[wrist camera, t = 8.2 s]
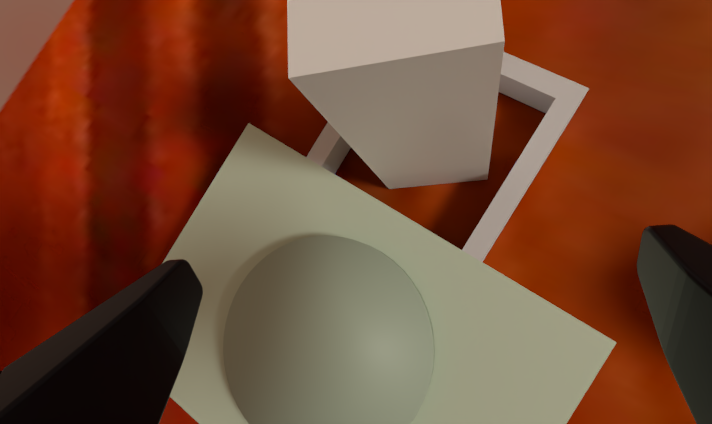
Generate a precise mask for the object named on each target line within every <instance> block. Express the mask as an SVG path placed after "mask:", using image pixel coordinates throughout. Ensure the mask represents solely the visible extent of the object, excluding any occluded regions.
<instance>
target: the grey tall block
mask: <svg viewBox="0 0 712 424" xmlns="http://www.w3.org/2000/svg"><path fill="white" fill-rule="evenodd" d="M287 13H288V78H289V79H290V81H291V82H292V83H293V84H294V85H295V86H296V87H297V88H298V89H299V90H300V92H301V93H302V94H303V95H304V96H305V97H306V98H307V99H308V100H309V101H310V103H311V104H312V105H313V106H314V107H315V108H316V109H317V110H318V111H319V112H320V114H321V115H322V116H323V117H324V118H325V119H326V120H327V121H328V122H329V123H330V125H331V126H332V127H333V128H334V129H335V130H336V131H337V132H338V133H339V135H340V136H341V137H342V138H343V139H344V140H345V141H346V142H347V143H348V144H349V146H350V147H351V148H352V149H353V150H354V151H355V152H356V153H357V154H358V155H359V157H360V158H361V159H362V160H363V161H364V162H365V163H366V164H367V165H368V166H369V168H370V169H371V170H372V171H373V172H374V173H375V174H376V175H377V176H378V177H379V179H380V180H381V181H382V182H383V183H384V184H385V185H386V186H387V187H388V188H389V189H394V188H404V187H415V186H425V185H436V184H446V183H457V182H467V181H478V180H488V172H489V164H490V156H491V148H492V140H493V132H494V124H495V116H496V108H497V99H498V91H499V83H500V75H501V67H502V59H503V51H504V43H505V40H504V30H503V20H502V11H501V1H500V0H287Z"/></svg>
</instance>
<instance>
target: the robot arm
mask: <svg viewBox="0 0 712 424" xmlns="http://www.w3.org/2000/svg"><path fill="white" fill-rule="evenodd" d="M637 272H638V276H639V279H640V282H641V285H642V288H643V291H644V294H645V297H646V301H647V304H648V307H649V310H650V313H651V316H652V319H653V322H654V325H655V328H656V331H657V334H658V337H659V340H660V343H661V346H662V349H663V352H664V354H665V357H666V359H667V361H668V363H669V366H670V368H671V370H672V372H673V374H674V377H675V379H676V381H677V383H678V385H679V387H680V389H681V391H682V393H683V396H684V398H685V400H686V402H687V404H688V406H689V408H690V410H691V413H692V415H693V417H694V419H695V421H696V423H697V424H712V245H711V244H709V243H707V242H705V241H703V240H701V239H700V238H698V237H696V236H694V235H692V234H690V233H689V232H687V231H685V230H683V229H681V228H679V227H677V226H675V225H656V226H648V227H646V228H645V229H644V231H643V234H642V238H641V244H640V249H639V254H638V260H637ZM202 296H203V288H202V285H201V283H200V281H199V279H198V277H197V276H196V274H195V272H194V270H193V269H192V267H191V265H190V264H189V262H188V261H186V260H184V259H177V260H168V261H166V262H164V263H162V264H161V265H159V266H158V267H156V268H155V269H153V270H152V271H150V272H149V273H147V274H146V275H144V276H143V277H141V278H140V279H138V280H137V281H135V282H134V283H132V284H131V285H129V286H128V287H126V288H125V289H123V290H122V291H120V292H118V293H117V294H115V295H114V296H112V297H111V298H109V299H108V300H106V301H105V302H103V303H102V304H100V305H99V306H97V307H96V308H94V309H93V310H91V311H90V312H88V313H87V314H85V315H84V316H82V317H81V318H79V319H78V320H76V321H75V322H73V323H72V324H70V325H69V326H67V327H66V328H64V329H63V330H61V331H59V332H58V333H56V334H55V335H53V336H52V337H50V338H49V339H47V340H46V341H44V342H43V343H41V344H40V345H38V346H37V347H35V348H34V349H32V350H31V351H29V352H28V353H26V354H25V355H23V356H22V357H20V358H19V359H17V360H16V361H14V362H13V363H11V364H10V365H8V366H7V367H5V368H4V369H3V371H0V424H159V422H160V419H161V417H162V414H163V412H164V409H165V407H166V404H167V402H168V399H169V396H170V394H171V391H172V389H173V386H174V384H175V381H176V379H177V376H178V374H179V371H180V369H181V366H182V363H183V361H184V358H185V355H186V352H187V348H188V345H189V342H190V338H191V335H192V331H193V328H194V324H195V321H196V317H197V314H198V310H199V307H200V303H201V300H202Z"/></svg>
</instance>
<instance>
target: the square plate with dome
mask: <svg viewBox="0 0 712 424" xmlns="http://www.w3.org/2000/svg"><path fill="white" fill-rule="evenodd" d="M588 90H589V88H587V87H585V86H582V85H580V84H578V83H575V82H573V81H571V80H568V79H566V78H564V77H561V76H559V75H557V74H554V73H552V72H550V71H547V70H545V69H543V68H540V67H538V66H536V65H533V64H531V63H529V62H526V61H524V60H521V59H519V58H517V57H514V56H512V55H510V54H507V53H505V52H503V59H502V67H501V75H500V83H499V91H498V92H500V93H502V94H505V95H507V96H509V97H511V98H513V99H515V100H518V101H520V102H522V103H524V104H526V105H529V106H531V107H533V108H535V109H537V110H539V111H542V112H544V113H546V115H545V116H544V118H543V120H542V121H541V123H540V124H539V126H538V128H537V129H536V131H535V132H534V134H533V136H532V137H531V139H530V141H529V142H528V144H527V145H526V147H525V149H524V150H523V152H522V154H521V155H520V157H519V158H518V160H517V162H516V163H515V165H514V166H513V168H512V170H511V171H510V173H509V175H508V176H507V178H506V179H505V181H504V183H503V184H502V186H501V188H500V189H499V191H498V192H497V194H496V196H495V197H494V199H493V200H492V202H491V204H490V205H489V207H488V209H487V210H486V212H485V213H484V215H483V217H482V218H481V220H480V222H479V223H478V225H477V226H476V228H475V230H474V231H473V233H472V234H471V236H470V238H469V239H468V241H467V243H466V244H465V246H464V247H463V249H462V250H461V249H459V248H457V247H456V246H454V245H452V244H451V243H449V242H447V241H446V240H444V239H442V238H441V237H439V236H437V235H436V234H434V233H432V232H431V231H429V230H427V229H426V228H424V227H422V226H420V225H419V224H417V223H415V222H414V221H412V220H410V219H409V218H407V217H405V216H404V215H402V214H400V213H399V212H397V211H395V210H394V209H392V208H390V207H389V206H387V205H385V204H384V203H382V202H380V201H379V200H377V199H375V198H374V197H372V196H370V195H369V194H367V193H365V192H363V191H362V190H360V189H358V188H357V187H355V186H353V185H352V184H350V183H348V182H347V181H345V180H343V179H342V178H340V177H338V176H337V175H335V173H336V171H337V170H338V168H339V166H340V165H341V163H342V162H343V160H344V158H345V157H346V155H347V153H348V152H349V150H350V149H351V147H350V146H349V144H348V143H347V142H346V141H345V140H344V139H343V138H342V137H341V136H340V135H339V133H338V132H337V131H336V130H335V129H334V128H333V127H332V126H331V125H330V123H329V122H328V123H327V124H326V126H325V127H324V129H323V131H322V132H321V134H320V136H319V137H318V139H317V140H316V142H315V144H314V145H313V147H312V148H311V150H310V152H309V153H308V155H307V157H305V156H303V155H301V154H300V153H298V152H296V151H295V150H293V149H291V148H290V147H288V146H286V145H285V144H283V143H281V142H280V141H278V140H276V139H275V138H273V137H271V136H270V135H268V134H266V133H265V132H263V131H261V130H260V129H258V128H256V127H255V126H253V125H251V124H250V123H248V125H247V126H246V128H245V129H244V131H243V133H242V134H241V136H240V138H239V139H238V141H237V142H236V144H235V146H234V147H233V149H232V151H231V152H230V154H229V155H228V157H227V159H226V160H225V162H224V164H223V165H222V167H221V168H220V170H219V172H218V173H217V175H216V177H215V178H214V180H213V181H212V183H211V185H210V186H209V188H208V190H207V191H206V193H205V195H204V196H203V198H202V199H201V201H200V203H199V204H198V206H197V208H196V209H195V211H194V212H193V214H192V216H191V217H190V219H189V221H188V222H187V224H186V225H185V227H184V229H183V230H182V232H181V234H180V235H179V237H178V238H177V240H176V242H175V243H174V245H173V247H172V248H171V250H170V251H169V253H168V255H167V256H166V258H165V260H164V261H163V263H164V262H166V261H168V260H177V259H184V260H186V261H188V262H189V264H190V265H191V267H192V269H193V270H194V272H195V274H196V276H197V277H198V279H199V281H200V283H201V285H202V288H203V296H202V300H201V303H200V307H199V310H198V314H197V317H196V321H195V324H194V328H193V331H192V335H191V338H190V342H189V345H188V348H187V352H186V355H185V358H184V361H183V363H182V366H181V369H180V371H179V374H178V376H177V379H176V381H175V384H174V386H173V389H172V391H171V394H170V397H171V398H172V399H173V400H174V401H175V402H176V403H177V404H179V405H180V406H181V407H182V408H183V409H184V410H185V411H186V412H187V413H188V414H189V415H190V416H191V417H193V418H194V419H195V420H196V421H197V422H198V423H199V424H566V423H567V422H568V420H569V419H570V417H571V415H572V414H573V412H574V411H575V409H576V407H577V406H578V404H579V402H580V401H581V399H582V398H583V396H584V394H585V393H586V391H587V390H588V388H589V386H590V385H591V383H592V382H593V380H594V378H595V377H596V375H597V373H598V372H599V370H600V369H601V367H602V365H603V364H604V362H605V361H606V359H607V357H608V356H609V354H610V352H611V351H612V349H613V348H614V346H615V344H616V343H617V342H615V341H613V340H612V339H610V338H608V337H607V336H605V335H603V334H601V333H600V332H598V331H596V330H595V329H593V328H591V327H590V326H588V325H586V324H585V323H583V322H581V321H580V320H578V319H576V318H575V317H573V316H571V315H570V314H568V313H566V312H565V311H563V310H561V309H560V308H558V307H556V306H555V305H553V304H551V303H550V302H548V301H546V300H545V299H543V298H541V297H539V296H538V295H536V294H534V293H533V292H531V291H529V290H528V289H526V288H524V287H523V286H521V285H519V284H518V283H516V282H514V281H513V280H511V279H509V278H508V277H506V276H504V275H503V274H501V273H499V272H498V271H496V270H494V269H493V268H491V267H489V266H488V265H486V264H484V263H482V262H483V260H484V259H485V257H486V255H487V254H488V252H489V251H490V249H491V247H492V246H493V244H494V242H495V241H496V239H497V238H498V236H499V234H500V233H501V231H502V230H503V228H504V226H505V225H506V223H507V221H508V220H509V218H510V217H511V215H512V213H513V212H514V210H515V208H516V207H517V205H518V204H519V202H520V200H521V199H522V197H523V196H524V194H525V192H526V191H527V189H528V187H529V186H530V184H531V183H532V181H533V179H534V178H535V176H536V175H537V173H538V171H539V170H540V168H541V166H542V165H543V163H544V162H545V160H546V158H547V157H548V155H549V153H550V152H551V150H552V149H553V147H554V145H555V144H556V142H557V141H558V139H559V137H560V136H561V134H562V132H563V131H564V129H565V128H566V126H567V124H568V123H569V121H570V119H571V118H572V116H573V115H574V113H575V111H576V110H577V108H578V107H579V105H580V103H581V101H582V100H583V98H584V96H585V95H586V93H587V91H588Z"/></svg>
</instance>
